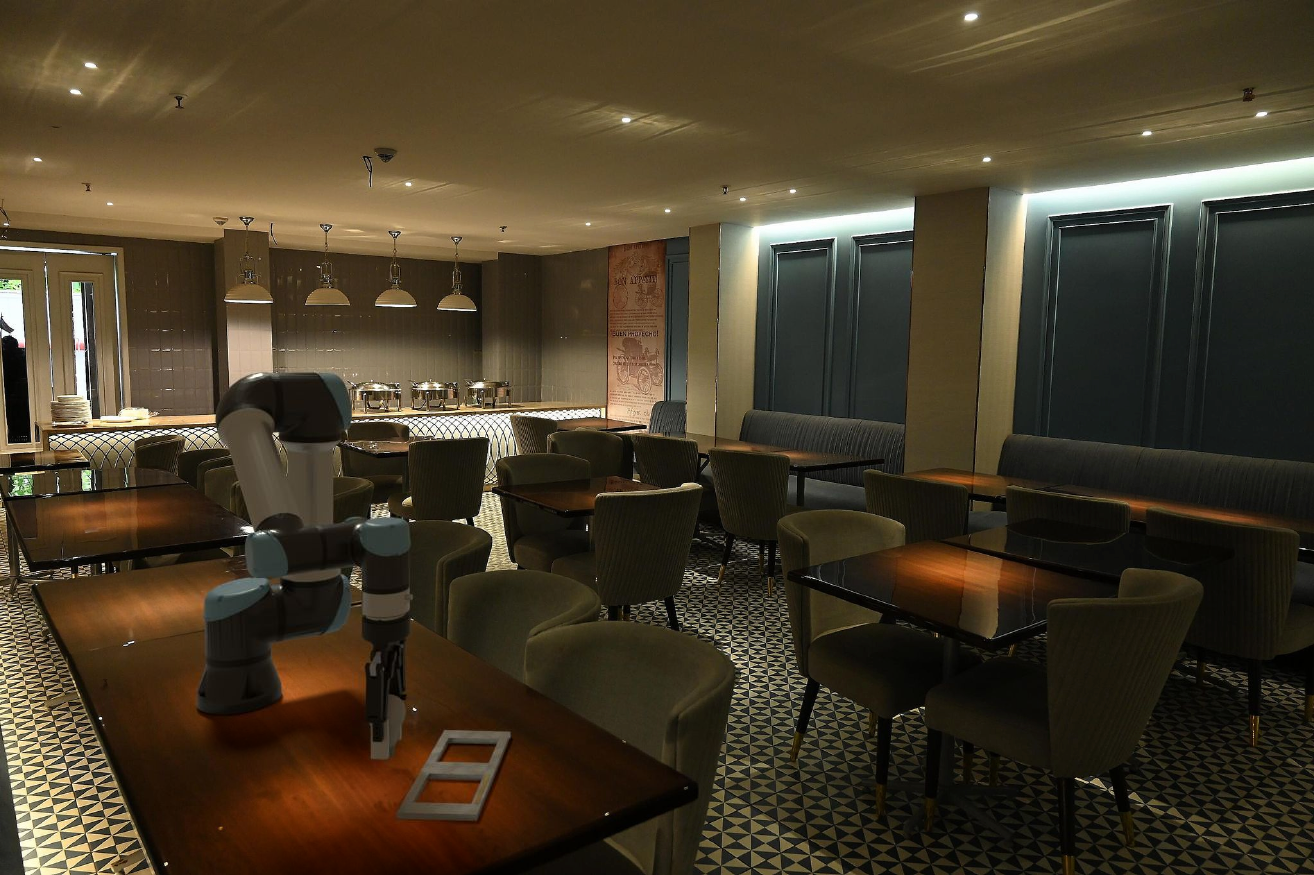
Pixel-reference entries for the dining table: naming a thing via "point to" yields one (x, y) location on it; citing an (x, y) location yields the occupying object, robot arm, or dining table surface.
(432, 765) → the grey window frame
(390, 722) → the lightbulb
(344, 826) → the dining table surface
